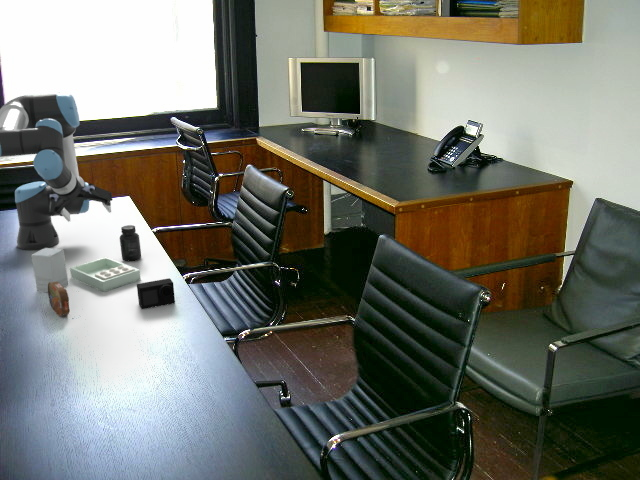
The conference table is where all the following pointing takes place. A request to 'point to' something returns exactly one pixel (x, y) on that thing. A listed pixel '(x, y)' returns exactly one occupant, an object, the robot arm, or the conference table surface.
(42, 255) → the supplement box
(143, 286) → the digital camera
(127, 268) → the egg carton
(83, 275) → the pale green tray
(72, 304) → the conference table surface
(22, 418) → the conference table surface
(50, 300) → the tin
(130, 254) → the supplement bottle
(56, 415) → the conference table surface
